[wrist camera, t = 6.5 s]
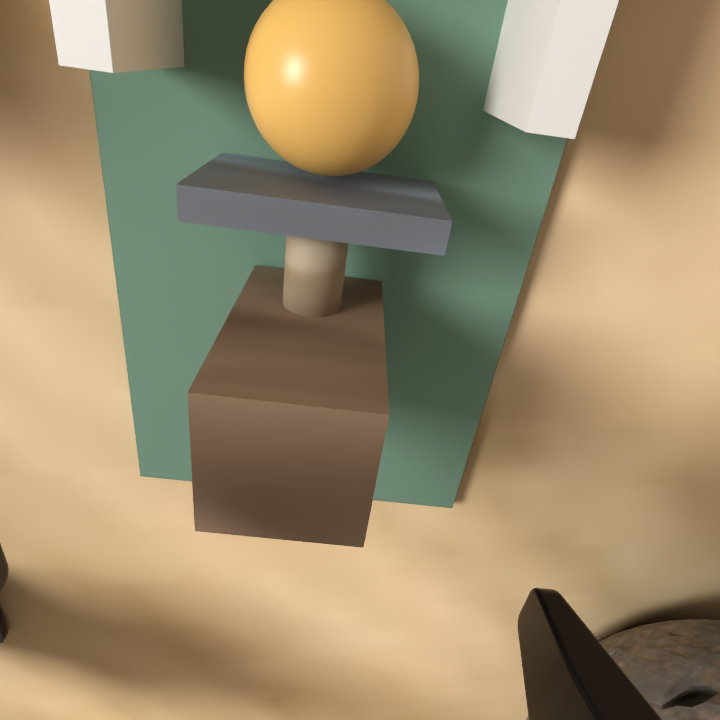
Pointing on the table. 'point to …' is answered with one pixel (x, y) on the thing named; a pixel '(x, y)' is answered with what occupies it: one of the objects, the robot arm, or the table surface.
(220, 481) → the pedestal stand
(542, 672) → the robot arm
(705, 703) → the bowl
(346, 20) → the ball
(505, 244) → the pitch
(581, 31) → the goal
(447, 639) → the table surface
